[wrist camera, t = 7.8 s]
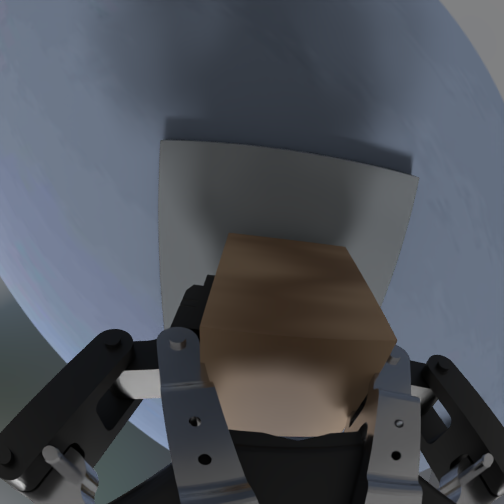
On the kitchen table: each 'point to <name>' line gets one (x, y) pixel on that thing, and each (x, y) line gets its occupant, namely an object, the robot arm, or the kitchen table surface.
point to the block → (291, 336)
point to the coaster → (274, 209)
